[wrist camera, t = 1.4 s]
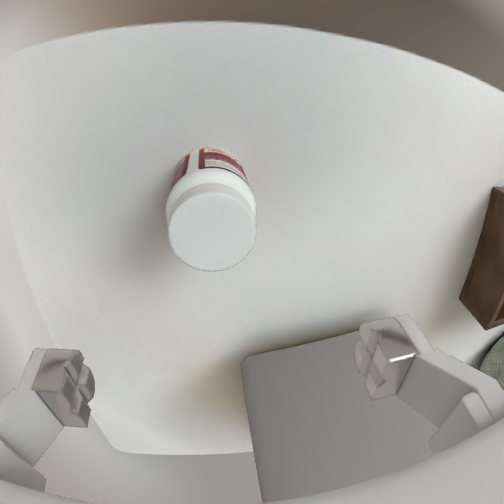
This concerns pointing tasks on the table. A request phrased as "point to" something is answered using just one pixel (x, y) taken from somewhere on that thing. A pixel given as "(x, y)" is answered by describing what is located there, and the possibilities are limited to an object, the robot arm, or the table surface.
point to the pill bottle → (211, 210)
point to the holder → (488, 268)
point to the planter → (495, 362)
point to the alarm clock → (324, 421)
